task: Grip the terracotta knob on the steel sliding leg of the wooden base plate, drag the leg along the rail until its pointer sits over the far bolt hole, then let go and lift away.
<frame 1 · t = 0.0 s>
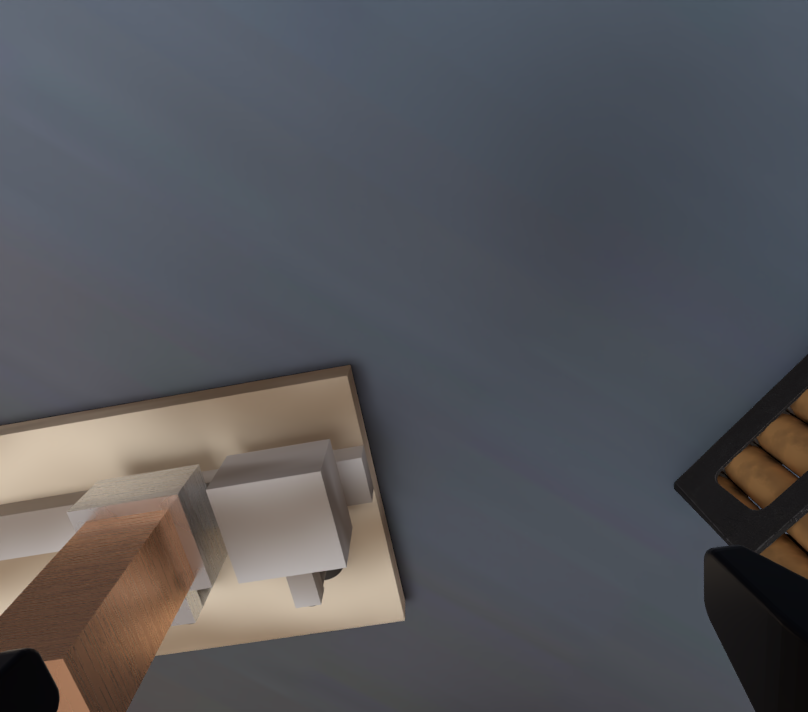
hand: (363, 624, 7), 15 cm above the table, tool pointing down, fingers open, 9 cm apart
ammunition clip: (778, 404, 22), on the table
sliding leg: (129, 614, 18), point 6 cm above the table, slide at 0.0 cm
wooden base plate: (182, 523, 24), on the table
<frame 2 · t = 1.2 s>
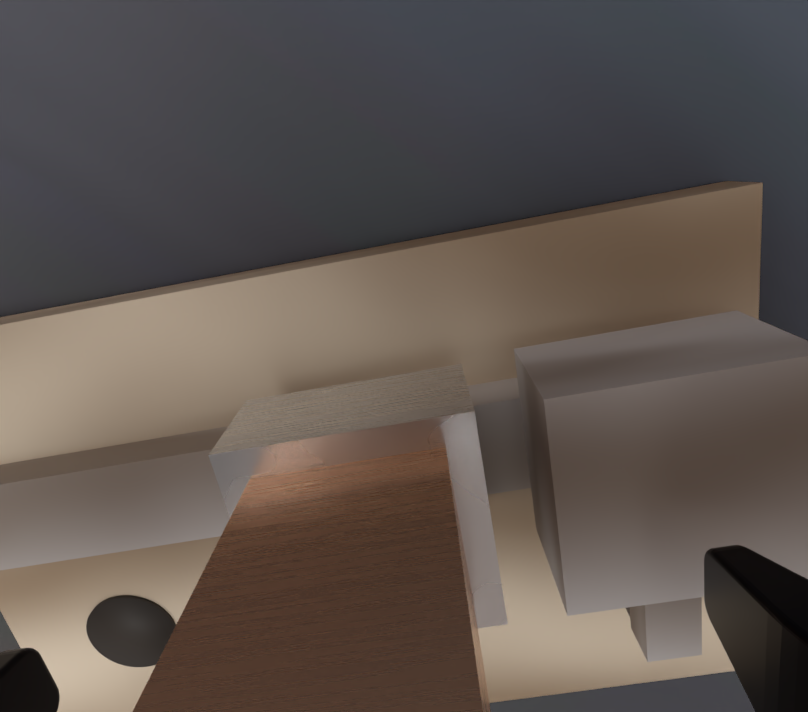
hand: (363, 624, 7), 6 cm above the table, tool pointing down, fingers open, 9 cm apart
sliding leg: (376, 699, 7), point 6 cm above the table, slide at 0.0 cm
wooden base plate: (356, 497, 14), on the table
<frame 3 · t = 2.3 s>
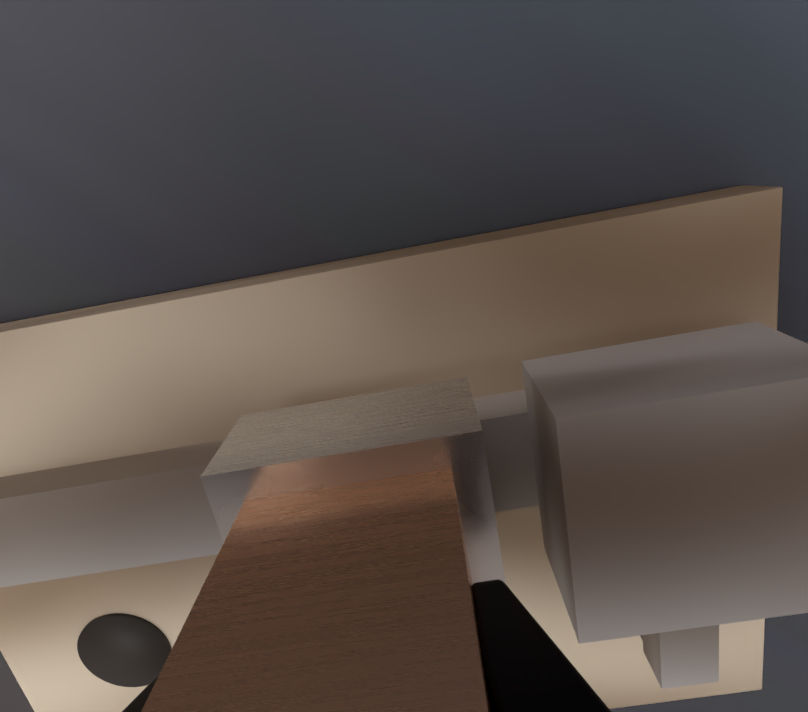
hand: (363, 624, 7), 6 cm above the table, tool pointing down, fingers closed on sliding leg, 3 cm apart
wooden base plate: (357, 511, 13), on the table
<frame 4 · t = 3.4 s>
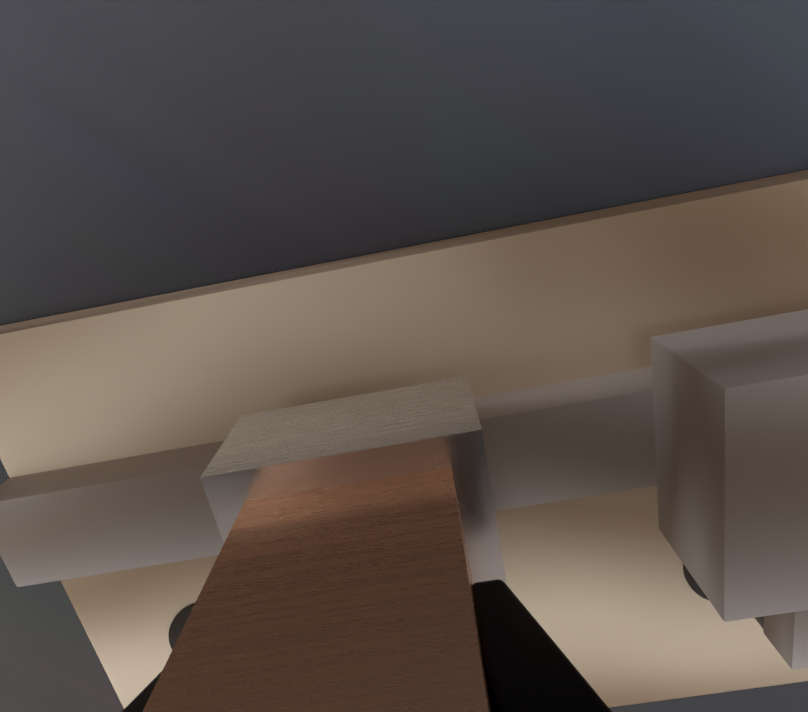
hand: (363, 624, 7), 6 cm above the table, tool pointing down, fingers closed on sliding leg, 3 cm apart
wooden base plate: (448, 496, 13), on the table
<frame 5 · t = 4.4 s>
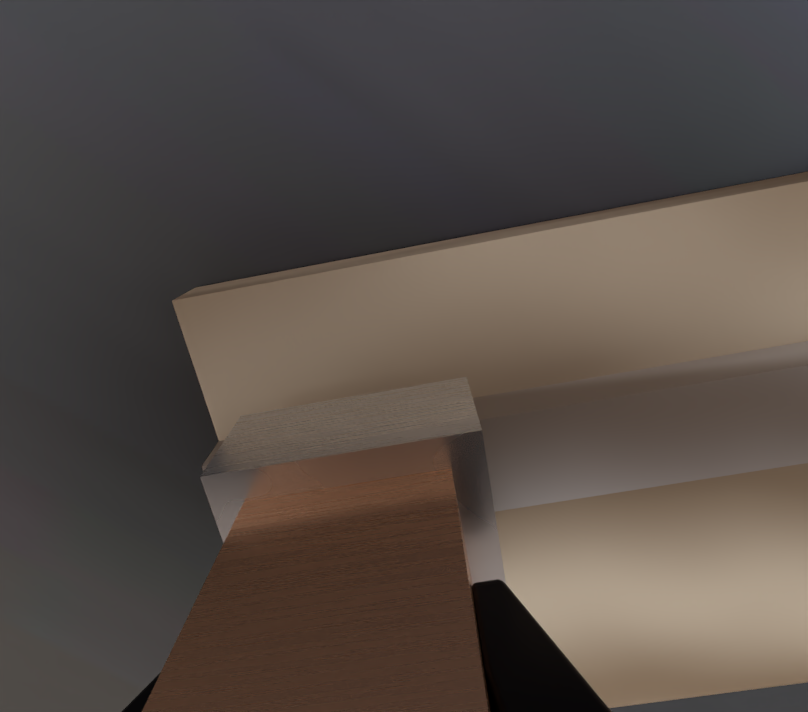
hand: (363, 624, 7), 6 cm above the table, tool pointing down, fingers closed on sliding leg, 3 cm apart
wooden base plate: (643, 466, 13), on the table
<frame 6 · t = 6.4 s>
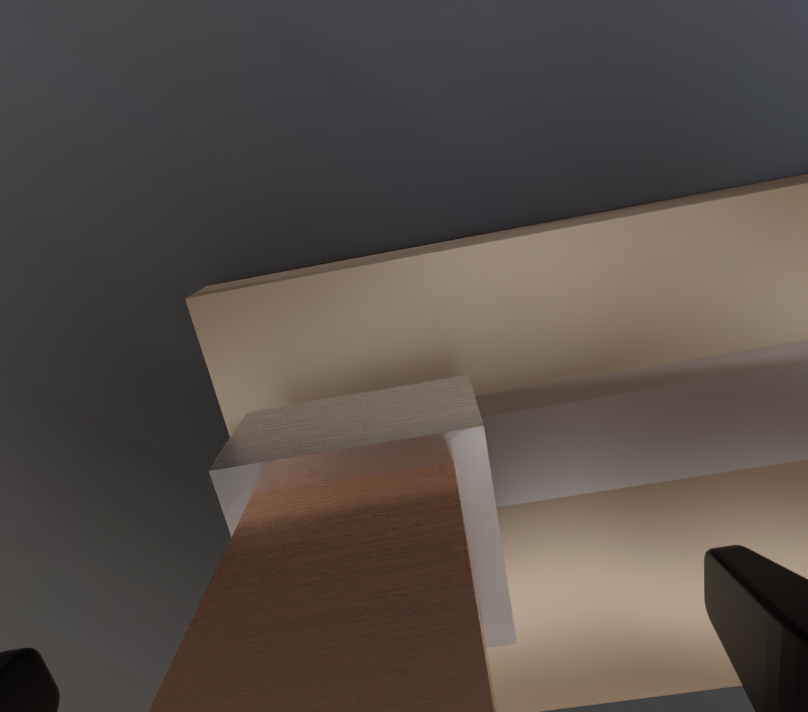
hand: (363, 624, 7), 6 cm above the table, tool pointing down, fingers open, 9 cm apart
wooden base plate: (646, 463, 13), on the table
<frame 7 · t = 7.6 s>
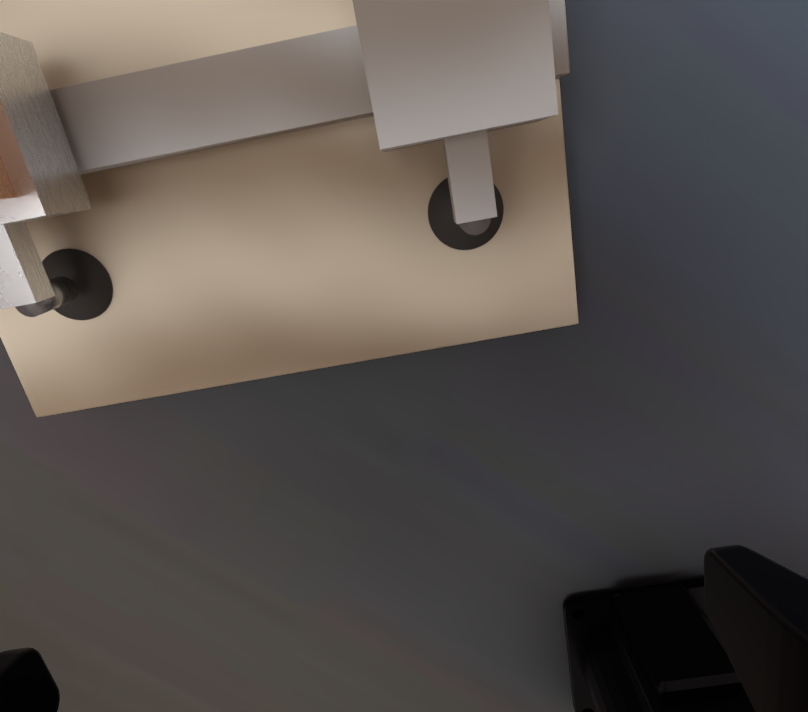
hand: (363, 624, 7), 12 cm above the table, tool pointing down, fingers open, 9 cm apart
wooden base plate: (258, 178, 17), on the table
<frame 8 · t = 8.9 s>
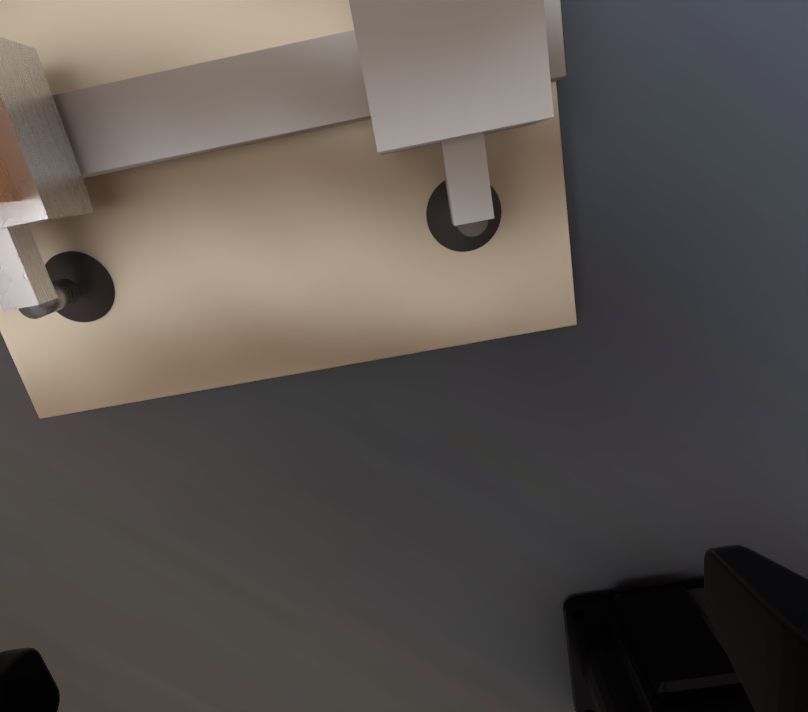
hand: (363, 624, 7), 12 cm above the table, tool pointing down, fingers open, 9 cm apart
wooden base plate: (259, 182, 17), on the table
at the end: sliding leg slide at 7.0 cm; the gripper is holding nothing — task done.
